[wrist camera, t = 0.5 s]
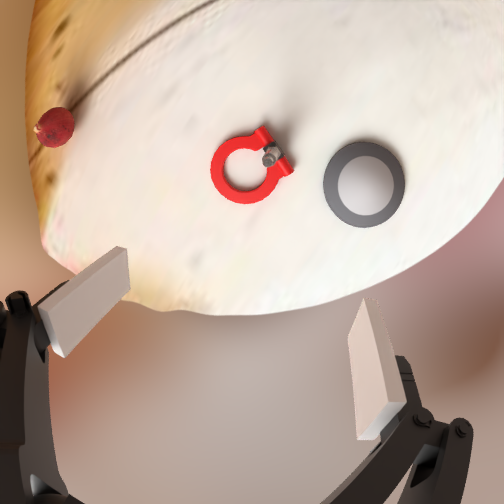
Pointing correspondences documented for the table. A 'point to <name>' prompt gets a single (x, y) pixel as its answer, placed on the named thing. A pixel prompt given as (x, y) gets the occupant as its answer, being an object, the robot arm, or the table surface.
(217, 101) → the table surface
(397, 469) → the robot arm
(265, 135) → the tow hook
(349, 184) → the plate
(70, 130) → the onion
